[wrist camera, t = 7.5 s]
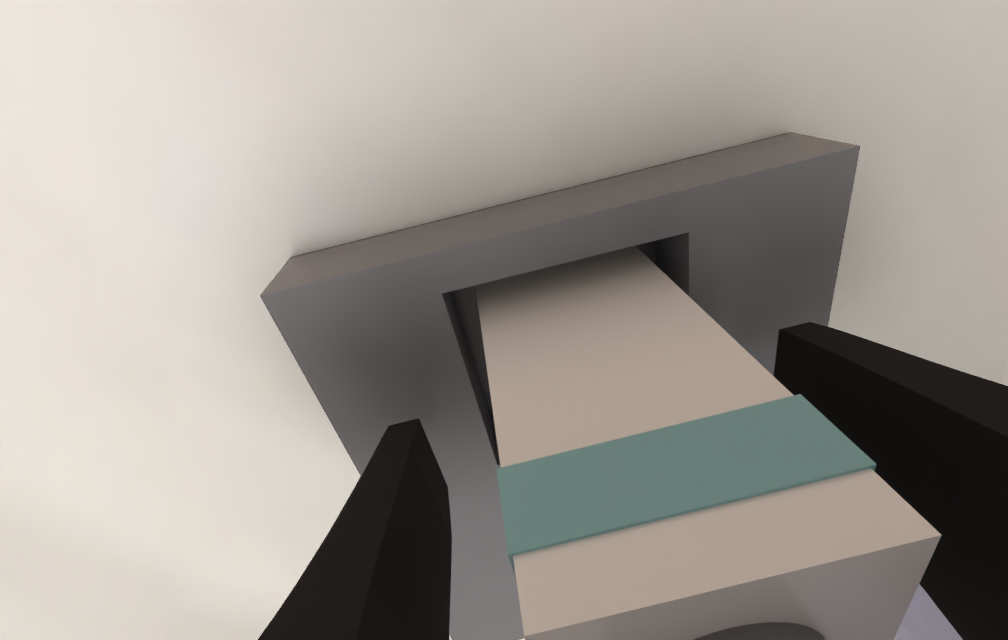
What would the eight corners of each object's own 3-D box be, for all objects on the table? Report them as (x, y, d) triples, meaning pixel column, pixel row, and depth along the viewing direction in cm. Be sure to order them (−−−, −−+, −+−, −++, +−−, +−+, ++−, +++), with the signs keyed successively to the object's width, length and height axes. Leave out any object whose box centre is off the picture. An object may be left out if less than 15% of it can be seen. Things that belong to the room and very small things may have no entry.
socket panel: (791, 132, 10) (860, 146, 9) (750, 526, 18) (782, 575, 16) (290, 257, 11) (259, 295, 9) (458, 597, 18) (460, 653, 16)
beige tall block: (633, 240, 11) (1116, 684, 3) (643, 370, 13) (948, 838, 5) (472, 280, 11) (542, 822, 3) (507, 403, 13) (602, 920, 5)
